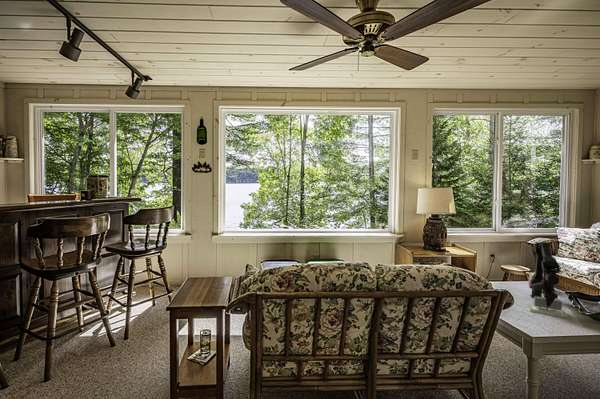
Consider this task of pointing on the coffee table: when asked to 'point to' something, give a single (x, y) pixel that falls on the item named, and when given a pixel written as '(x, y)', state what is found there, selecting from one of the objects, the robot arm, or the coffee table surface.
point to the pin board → (547, 311)
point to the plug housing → (542, 303)
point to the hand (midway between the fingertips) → (547, 305)
